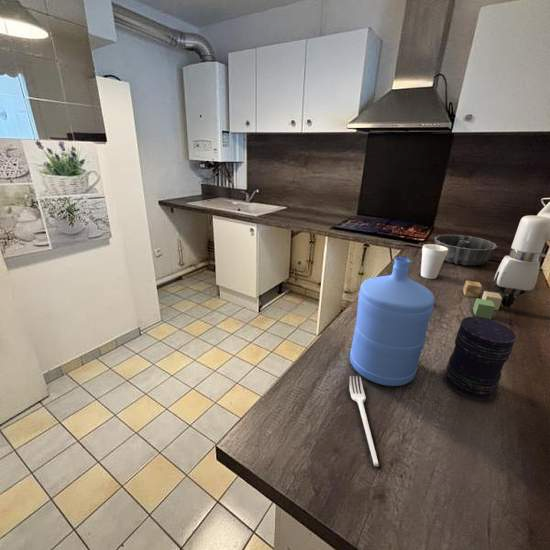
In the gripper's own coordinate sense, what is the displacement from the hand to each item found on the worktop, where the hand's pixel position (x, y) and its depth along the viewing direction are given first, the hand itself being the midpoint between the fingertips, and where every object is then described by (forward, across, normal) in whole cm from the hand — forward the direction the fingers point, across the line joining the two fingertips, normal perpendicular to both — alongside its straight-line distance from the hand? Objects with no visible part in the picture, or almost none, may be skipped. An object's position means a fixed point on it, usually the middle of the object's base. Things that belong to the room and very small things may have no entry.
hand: (505, 305), depth 100 cm
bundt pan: (+2, +8, -51) cm, 52 cm away
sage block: (+1, +8, +8) cm, 11 cm away
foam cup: (+1, +23, -21) cm, 31 cm away
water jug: (+1, +36, +49) cm, 61 cm away
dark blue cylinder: (+1, +17, +47) cm, 50 cm away
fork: (+2, +38, +66) cm, 77 cm away
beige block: (+1, +4, 0) cm, 5 cm away
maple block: (+1, +9, -8) cm, 12 cm away
